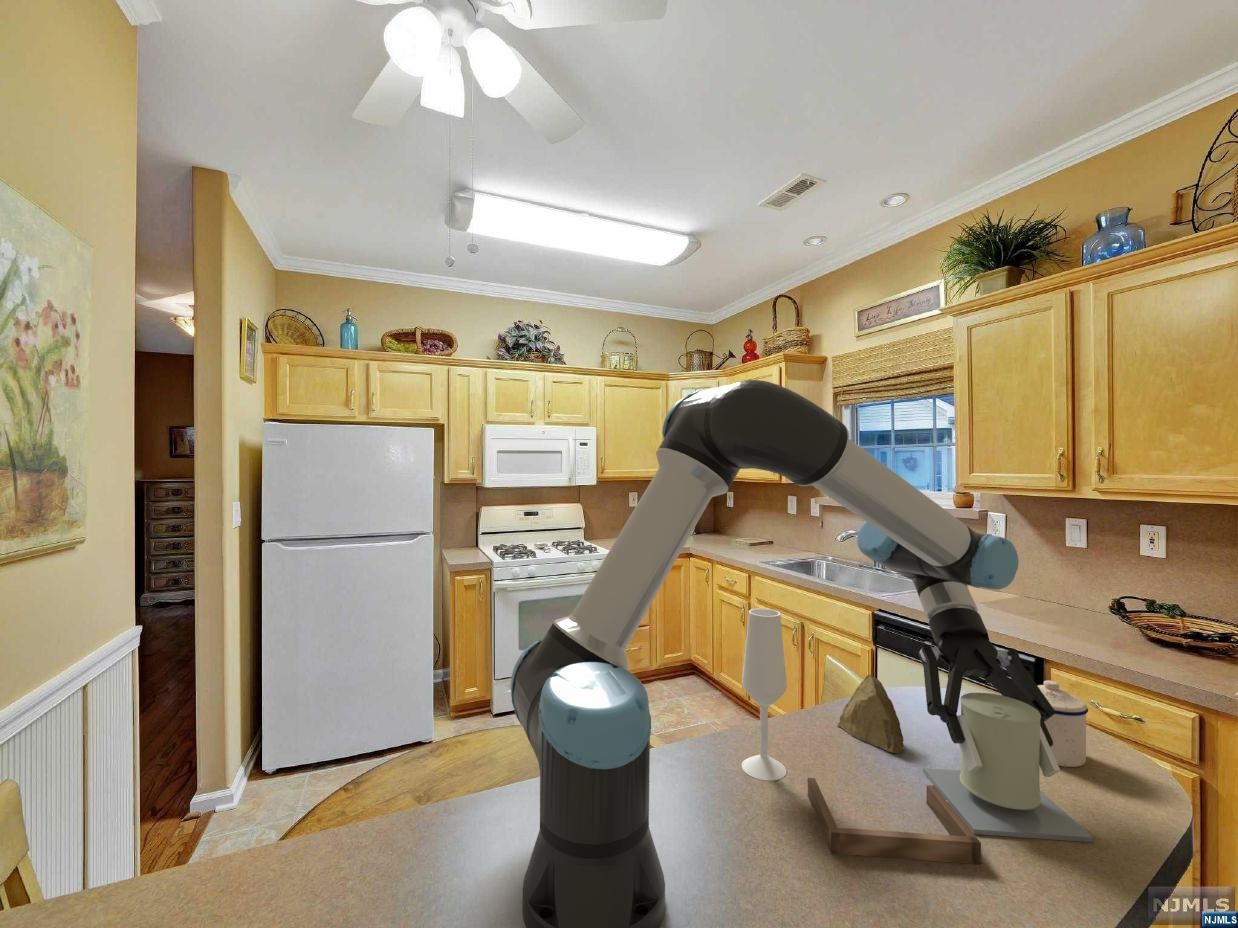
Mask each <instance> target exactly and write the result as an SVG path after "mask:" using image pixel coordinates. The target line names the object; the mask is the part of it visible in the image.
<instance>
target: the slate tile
mask: <svg viewBox="0 0 1238 928" xmlns="http://www.w3.org/2000/svg"><path fill="white" fill-rule="evenodd" d="M922 772H923V774H924V775H925V776H926V778H927V779H928V780H929V781H930V782H931V784H932V785H934V786H935V787H936V788H937V790H938V791H939V792H940V793H941V794H942V796H943V797H944V798H945V799H946V800H947V801H948V803H949V804H950V805H951V807H952V808H953V809H954V810H955V812H956V813H957V814H958V815H959V817H960V818H961V819H962V820H963V821H964V823H965V824H966V825H967V826H968V828H969V829H970V830H971V831H972V832H973V834H974V835H982V836H984V835H985V836H998V837H1010V838H1011V837H1012V838H1013V837H1014V838H1025V839H1026V838H1027V839H1041V840H1053V841H1054V840H1057V841H1067V842H1068V841H1069V842H1070V841H1072V842H1081V843H1082V842H1083V843H1085V842H1086V843H1093V842H1094V836H1093V835H1091V834H1090V833H1089V832H1087V831H1086V830H1085V829H1084V828H1083V827H1082V826H1081V825H1080V824H1079V823H1078V822H1076V821H1075V820H1074V819H1073V818H1072V817H1070V816H1069V814H1068V813H1066V811H1064V810H1062V808H1060V806H1058V805H1057V804H1056V803H1055V802H1054V801H1052V800H1051V799H1050V798H1049V797H1048V796H1047V795H1046V794H1045V793H1044V792H1042V791H1041V790H1040V797H1041V803H1040V805H1039V806H1038V807H1036V808H1034V809H1029V810H1018V809H1011V808H1006V807H1002V806H998V805H995V804H992V803H990V802H987V801H985V800H983V799H981V798H979V797H977V796H975V795H974V794H972V793H971V792H969V791H968V790H967V789H966V788H965V787H964V786H963V785H962V783H961V781H960V774H961V769H960V770H959V769H942V768H928V767H927V768H924V767H923V768H922Z"/></svg>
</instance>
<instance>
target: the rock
mask: <svg viewBox="0 0 1238 928" xmlns="http://www.w3.org/2000/svg"><path fill="white" fill-rule="evenodd" d="M836 726H837V728H840V729H842V730H844V731H845V732H846V733H848V734H849V735H850V736H853V737H855V738H857V739H859V740H861V741H863V742H866V743H869V744H871V745H873V746H875V747H879V748H881V749H882V750H884V751H886V752H890V753H892V754H896V753H897V754H898V753H899V754H900V753H903V752H904V735H903V734H902V733H903V732H902V729H901V723H900V720H899V717H898V715H897V712H896V709H895V707H894V704H893V701H892V700H891V699H890V698H889V695H888V693H887V691H886V689H885V687H884V686H883V683H882V682H881V681H880V680H879V679H878V678H877V677H875V676H873V675H872V674H867V675H866V676H865V677H864V679H863V680H862V681H861V682H860V684H859V685H858V686H857V688H855V691H854V692H853V694H852V696H851V698H850V700H849V701H848V702H847V703H846V704H845V707H843V710H842V713H841V715H840V717H839V721H838V722H837V725H836Z"/></svg>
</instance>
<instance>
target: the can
mask: <svg viewBox="0 0 1238 928" xmlns="http://www.w3.org/2000/svg"><path fill="white" fill-rule="evenodd" d="M960 710H961V711H960V712H961V713H960V715H964V717H965V720H966V722H967V724H968V727H969V729H970V732H971V735H972V738H973V741H974V743H975V746H976V749H977V752H978V754H979V757H980V760H981V763H982V767H981V768H980V769H978V770H977V771H976V772H969V771H968V768H967V766H966V763H965V760H964V757H963V754H962V751H961V752H960V755H961V756H960V760H961V761H960V762H961V763H960V765H961V766H960V770H961V774H960V781H961V783H962V785H963V786H964V787H965V788H966V789H967V790H968V791H969V792H971V793H972V794H974V795H975V796H977V797H979V798H981V799H983V800H985V801H987V802H990V803H992V804H995V805H998V806H1002V807H1006V808H1011V809H1018V810H1029V809H1034V808H1036V807H1038V806H1039V805H1040V803H1041V797H1040V791H1041V788H1040V787H1041V786H1040V765H1039V753H1040V719H1041V715H1040V713H1039V712H1038V711H1037V710H1036V709H1035V708H1034V707H1032V706H1030V705H1028V704H1026V703H1024V702H1022V701H1019V700H1016V699H1013V698H1010V697H1006V696H1002V694H996V693H991V692H969V693H964V694H963V695H962V696H961V697H960Z"/></svg>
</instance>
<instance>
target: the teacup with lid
mask: <svg viewBox="0 0 1238 928" xmlns="http://www.w3.org/2000/svg"><path fill="white" fill-rule="evenodd" d="M1037 686H1038V687H1039V689H1040V690H1041V692H1042V693H1043V694H1044V696H1045V697H1046V699H1047V700H1048V702H1049V703H1050V704H1051V706H1052V707H1053V709H1054V710H1055V714H1054V715H1053V716H1052V717H1050V718H1049V719H1048V720H1046V721H1044V722H1045V725H1046V727H1047V729H1048V731H1049V734H1050V736H1051V738H1052V740H1053V746H1051V747H1050V748H1051V751H1052V753H1053V755H1054V757H1055V759H1056V762H1057V764H1058V766H1059V767H1066V768H1079V767H1081V766H1083V765H1085V764H1086V760H1087V714H1088V712H1089V708H1088V706H1087V704H1086V703H1085V701H1083V700H1082V699H1081V698H1079V697H1077V696H1076V695H1073V694H1071V693H1069V692H1067V691H1066V690H1064V689H1062V688H1060V684H1059V682H1057V681H1054V680H1050V679H1048V680H1044V681H1043V684H1037Z"/></svg>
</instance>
